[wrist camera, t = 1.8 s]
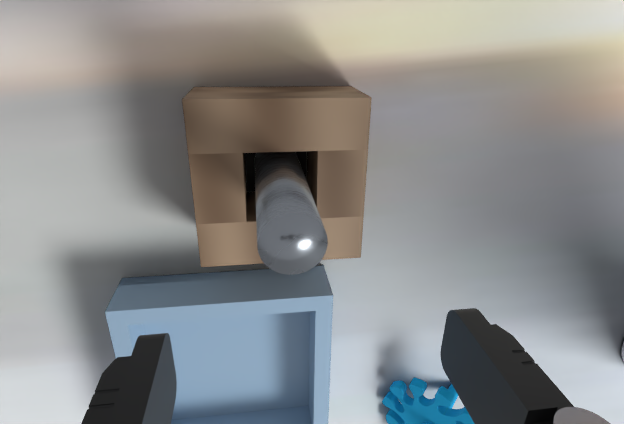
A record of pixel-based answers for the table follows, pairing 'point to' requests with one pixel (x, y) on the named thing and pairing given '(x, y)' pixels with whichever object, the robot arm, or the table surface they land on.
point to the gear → (423, 405)
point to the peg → (286, 215)
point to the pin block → (275, 138)
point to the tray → (235, 342)
